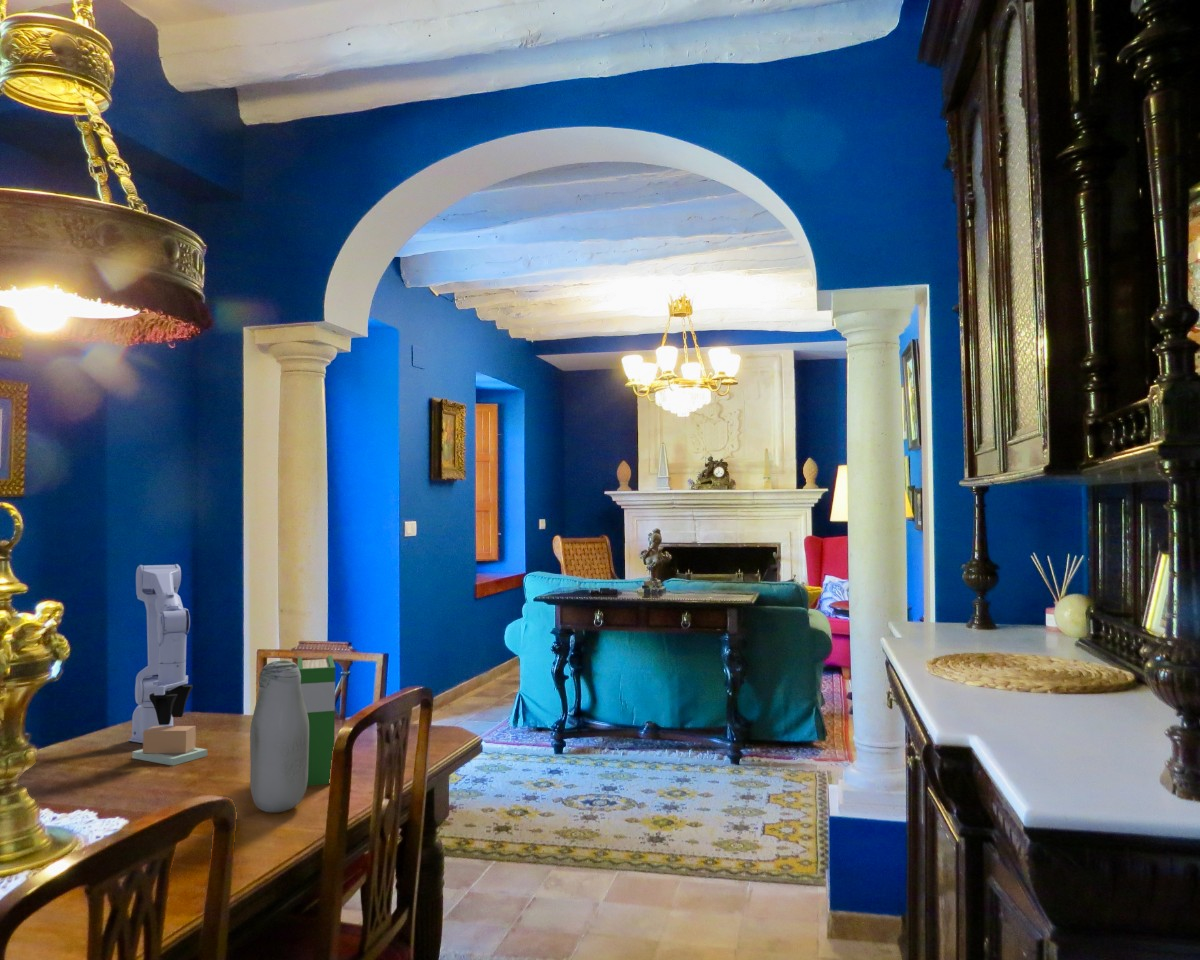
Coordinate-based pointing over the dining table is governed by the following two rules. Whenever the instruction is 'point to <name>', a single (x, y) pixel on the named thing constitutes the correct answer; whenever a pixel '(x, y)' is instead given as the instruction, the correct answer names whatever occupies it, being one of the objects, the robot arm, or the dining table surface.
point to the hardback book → (319, 715)
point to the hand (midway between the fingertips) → (170, 720)
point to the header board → (170, 756)
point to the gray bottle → (279, 739)
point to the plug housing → (169, 739)
